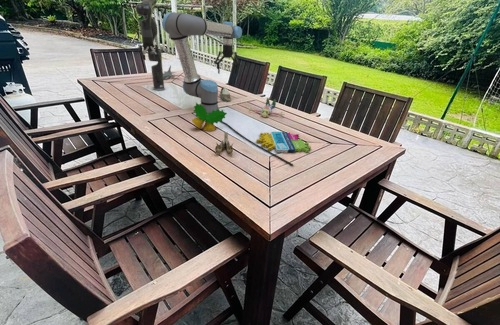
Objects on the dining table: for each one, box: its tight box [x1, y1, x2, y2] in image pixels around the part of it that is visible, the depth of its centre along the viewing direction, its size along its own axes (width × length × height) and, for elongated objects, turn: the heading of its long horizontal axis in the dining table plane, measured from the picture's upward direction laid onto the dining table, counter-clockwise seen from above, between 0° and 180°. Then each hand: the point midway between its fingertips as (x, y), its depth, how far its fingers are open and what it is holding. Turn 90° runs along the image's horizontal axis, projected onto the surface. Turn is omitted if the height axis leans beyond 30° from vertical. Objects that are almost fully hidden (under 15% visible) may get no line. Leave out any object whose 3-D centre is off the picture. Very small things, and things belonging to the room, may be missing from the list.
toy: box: [247, 97, 285, 118], centre depth 199 cm, size 28×7×30 cm
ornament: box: [191, 102, 228, 132], centre depth 162 cm, size 21×8×15 cm, turn 105°
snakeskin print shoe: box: [219, 86, 232, 103], centre depth 225 cm, size 8×25×9 cm, turn 13°
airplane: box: [163, 65, 181, 80], centre depth 275 cm, size 38×31×10 cm
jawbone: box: [214, 131, 234, 156], centre depth 136 cm, size 9×15×10 cm
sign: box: [256, 131, 312, 154], centre depth 152 cm, size 26×2×30 cm
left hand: (149, 59), depth 199 cm, fingers open, 8 cm apart
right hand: (227, 73), depth 209 cm, fingers open, 13 cm apart
